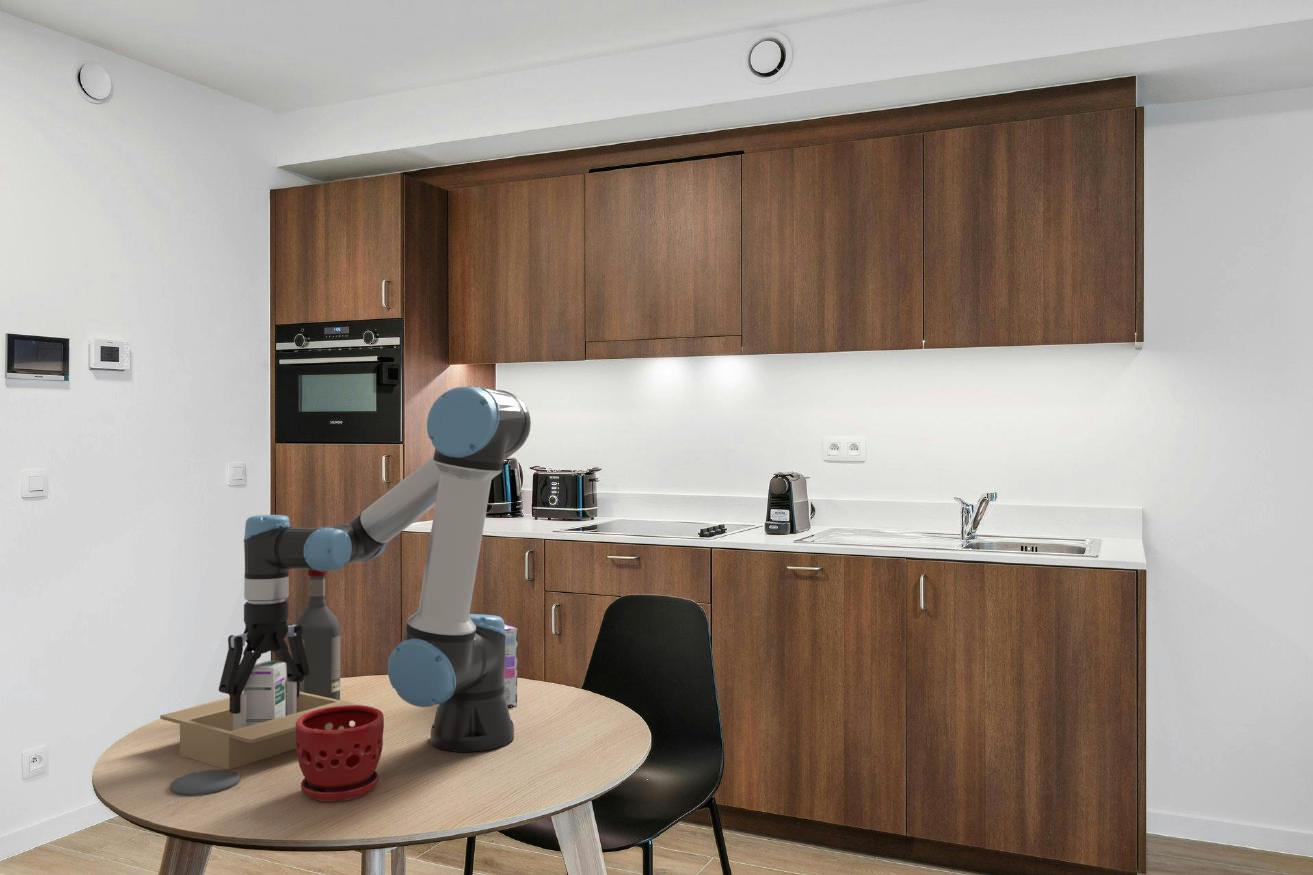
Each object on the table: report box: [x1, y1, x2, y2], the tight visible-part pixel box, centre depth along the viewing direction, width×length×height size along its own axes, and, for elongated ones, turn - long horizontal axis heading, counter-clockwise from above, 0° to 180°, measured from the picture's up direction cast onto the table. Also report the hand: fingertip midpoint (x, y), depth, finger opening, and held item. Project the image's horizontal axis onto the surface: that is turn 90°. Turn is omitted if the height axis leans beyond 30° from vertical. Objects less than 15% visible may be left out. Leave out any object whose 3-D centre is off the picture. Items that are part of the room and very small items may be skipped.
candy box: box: [505, 624, 519, 708], centre depth 201 cm, size 14×6×16 cm, turn 34°
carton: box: [159, 692, 366, 770], centre depth 172 cm, size 26×24×6 cm
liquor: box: [293, 570, 342, 700], centre depth 199 cm, size 9×9×30 cm
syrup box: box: [242, 660, 288, 727], centre depth 172 cm, size 6×6×14 cm
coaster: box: [170, 769, 241, 796], centre depth 151 cm, size 10×10×1 cm
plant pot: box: [296, 704, 385, 803], centre depth 148 cm, size 13×13×12 cm
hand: (265, 723), depth 172 cm, fingers open, 10 cm apart
